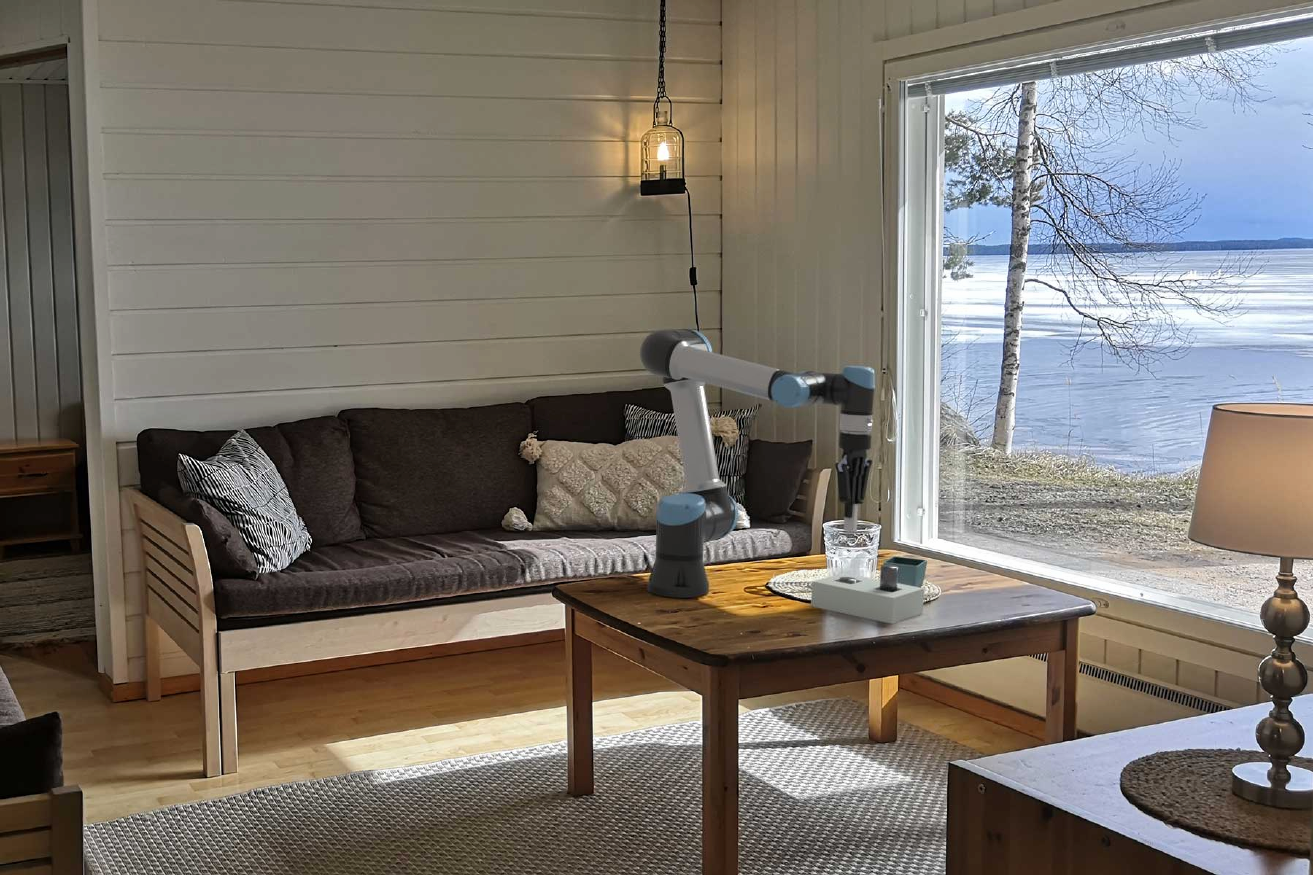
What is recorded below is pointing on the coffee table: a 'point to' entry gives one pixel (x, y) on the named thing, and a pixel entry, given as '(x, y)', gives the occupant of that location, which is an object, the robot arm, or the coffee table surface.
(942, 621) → the coffee table surface
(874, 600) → the peg block
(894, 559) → the flower pot
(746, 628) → the coffee table surface
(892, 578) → the right peg
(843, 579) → the left peg
